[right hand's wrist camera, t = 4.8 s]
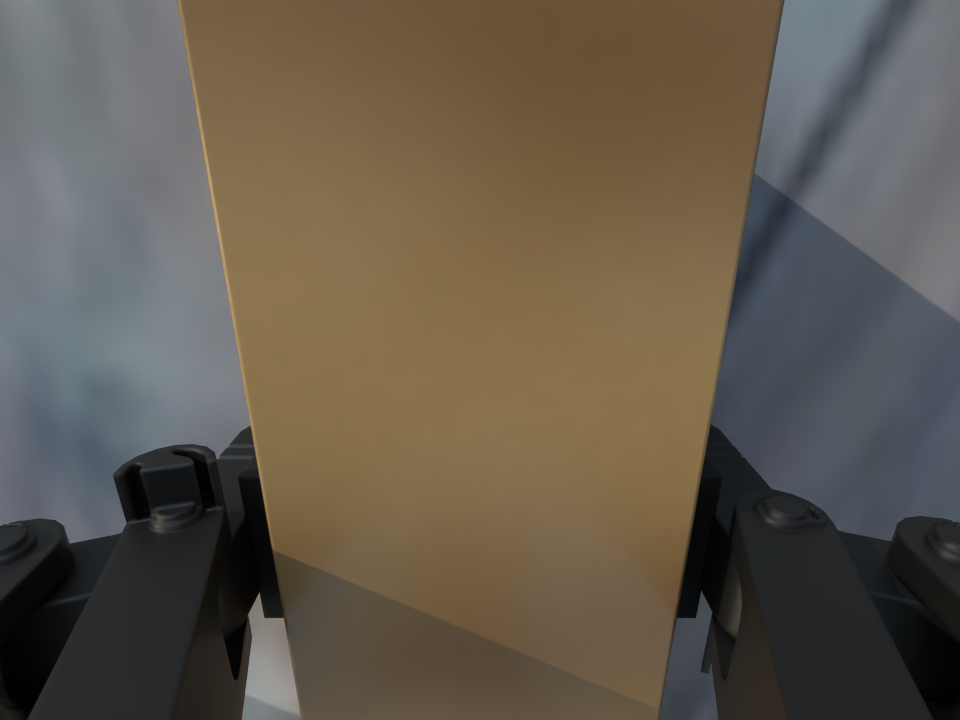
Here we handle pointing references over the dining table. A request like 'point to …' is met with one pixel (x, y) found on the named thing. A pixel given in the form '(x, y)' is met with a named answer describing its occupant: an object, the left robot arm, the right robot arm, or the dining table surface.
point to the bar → (480, 328)
